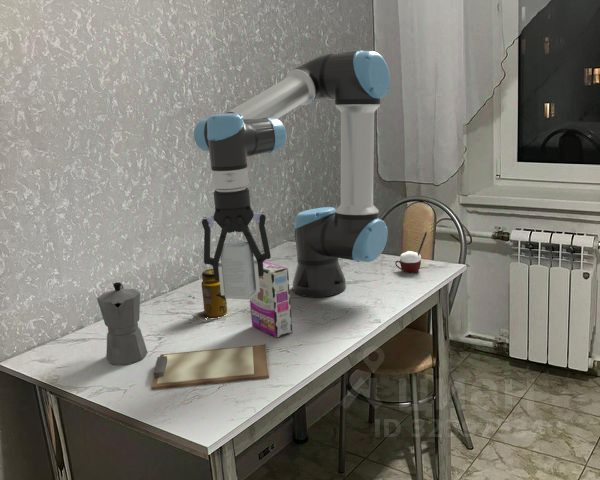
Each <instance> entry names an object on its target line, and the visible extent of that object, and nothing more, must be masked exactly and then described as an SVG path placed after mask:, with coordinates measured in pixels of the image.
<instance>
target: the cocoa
mask: <svg viewBox="0 0 600 480" xmlns="http://www.w3.org/2000/svg"><path fill="white" fill-rule="evenodd" d="M427 234H428V232H427V231H424V235H423V237H422V240H421V243H420V246H419V248H418V251H417V252H415V251H412V250H411V251H410V250H407V251H405V252H402V253H401V254H400V259H399V260H397V261H395V262H394V263H395V266H396V268H397V269H399V270H401V271H403V272H404V273H406V274H415V273H417V272H419V270H420V268H421V266H422V265H421V264H422V256H421V254H420V253H421V250H422V248H423V245H424V243H425V240H426V238H427ZM397 263H399V265H400V266H399V265H398V264H397Z"/></svg>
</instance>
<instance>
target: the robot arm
mask: <svg viewBox="0 0 600 480" xmlns="http://www.w3.org/2000/svg"><path fill="white" fill-rule="evenodd" d="M390 87H391V73H390V69H389V66H388V64H387V62H386V61H385V59H384V57H383V56H382V55H381V54H380V53H378V52H376V51H374V50H357V51H356V50H355V51H347V52H346V51H345V52H335V53H326V54H323V55H319V56H317V57H314V58H313V59H310V60H308V61H306V62H304V63H302V64H301V65H299V66H296V67H295V68H294V69H292V70H290V71H289V72H287V75H286V76H285V78H284V79H283V80H280V81H279V82H277V83H276V84H273V85H272V86H271V87H269V88H267V89H265V90H263V91H262V92H259V93H258V94H256V95H255V96H253V97H252V98H249V99H247V100H246V101H244V102H242V103H241V104H239V105H238V106H236V107H234V108H233V109H231V110H229V111H227V112H225V113H221V114H220V113H217V114H212V115H210V116H209V117H208V118H205V119H202V120H199V121H198V122H197V123H196V125H195V127H194V130H193V139H194V142H195V145H196V146H197V147H198V149H200V150H201V151H204V152H208V153H209V159H210V169H211V170H210V171H211V180H212V188H213V189H214V190H213V191H214V192H213V200H214V201H213V202H214V209H215V210H214V213H213V215H212V216H211V215H210V216H209V217H206V216H203V218H202V219H201V224H202V228H203V230H204V231H203V234H204V235H203V263H204V264H205V265H210V266H212V269H213V272H214V279H215V280H220V290H221V295H225V292H224V282H223V272H222V263H221V262H220V261H221V252H222V249H223V245H224V243H226V238H227V234H231V233H242V234H243V235H244V237H245V239H246V242H248V243H249V245H250V247H251V249H252V251H253V257H255V259H254V269H255V281H256V292H260V286H259V276H263V275H264V270H263V261H266V260H270V259H271V256H272V254H271V250H270V246H269V241H268V235H267V230H266V225H265V224H266V213H265V212H254V211H253V209H252V207H251V206H252V205H251V193H250V189H249V188H248V186H249V171H248V159H247V158H248V157H252V156H257V155H262V154H272V153H273V152H276V151H279V150H281V149H282V148H283V147H284V145H285V143H286V141H287V133H286V131H287V130H286V128H285V125H284V124H283V122H282V121H281V120H280V118H281V117H282V116H284V115H286V114H287V113H290V112H291V111H292V110H294V109H296V108H297V107H298V106H300V105H301V106H308V105H310V104H312V103H313V102H315V101H320V100H334V107H335V108H336V109H337V110H338V111H340V205H339V206H337V208H336V207H334V206H332V207H331V206H324V207H323V206H322V207H318V208H312V209H307V210H302V211H300V212H298V213H297V214H296V215H295V217H294V237H295V249H296V261H297V264H296V267H295V268H296V269H295V273H294V275H293V280H292V290H293V292H294V293H295V294H296V295H299V296H302V297H307V298H320V297H321V298H322V297H323V298H324V297H329V296H334V295H338V294H340V293H342V292H343V291H345V290H346V288H347V286H346V285H347V283H346V278H345V275H344V272H343V270H342V268H341V265H340V262H339V259H342V260H349V261H354V262H358V263H360V262H361V263H362V262H365V263H371V262H373V261H375V260H377V259H378V258H379V257H380V256H381V255H382V252H383V251H384V249H385V247H386V245H387V241H388V236H389V235H388V232H389V231H388V226H387V225H386V222H385V221H384V220H383V219H380V217H379V216H380V215H379V214H380V212H379V211H380V210H379V209H378V208H377V206H375V205H374V172H375V171H374V165H375V164H374V162H375V161H374V160H375V159H374V157H375V156H374V155H375V154H374V153H375V152H374V150H375V149H374V148H375V112H376V111H377V110H378V109H379V107H380V106H381V99H382V98H384V97H385V96H387V94H388V92H389V90H390ZM253 219H254V220H255V223H256V224H258V227H259V228H258V229H259V233H260V238H261V242H262V243H261V244H262V248H263V253H261V251H260V249H259V247H258V245H257V243H256V240H255V239H254V237H253V235H252V232H251V230H250V227H249V224H250V223H251V221H252V220H253ZM214 222H215V223H216V224H217V225H218V226H219V227H220V228H221V230H220V234H219V237H218V240H217V241H218V242H217V245H216V249H215V251H214V257H211V238H212V237H211V234H212V233H211V232H212V231H211V228H212V227H213V225H214Z"/></svg>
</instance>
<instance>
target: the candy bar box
mask: <svg viewBox="0 0 600 480" xmlns="http://www.w3.org/2000/svg"><path fill="white" fill-rule="evenodd" d="M263 270H264V275H263V276H259V286H260V292H257V294H256V295H254V296H253V297H252V298H251V299H250V300H249V305H250V316H251V317H250V318H251V326H252V327H253V328H255V329H257V330H260V331H262V332H264V333H266V334H268V335H269V336H272V337H275V338H281V337H284V336H287V335H289V334H292V333H293V323H292V310H291V309H292V308H291V293H290V279H289V268H287V267H284V266H281V265H278V264H276V263H275V264H274V263H271V262H268V261H266V260H264V261H263Z"/></svg>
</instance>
